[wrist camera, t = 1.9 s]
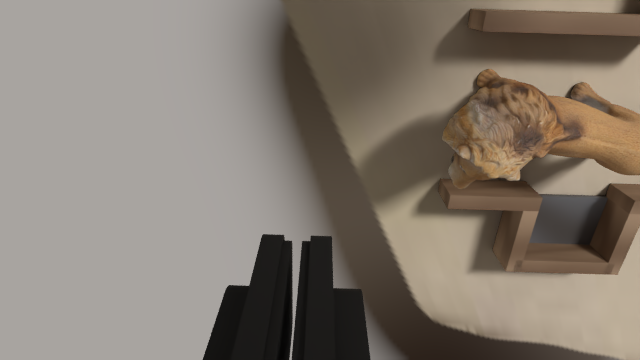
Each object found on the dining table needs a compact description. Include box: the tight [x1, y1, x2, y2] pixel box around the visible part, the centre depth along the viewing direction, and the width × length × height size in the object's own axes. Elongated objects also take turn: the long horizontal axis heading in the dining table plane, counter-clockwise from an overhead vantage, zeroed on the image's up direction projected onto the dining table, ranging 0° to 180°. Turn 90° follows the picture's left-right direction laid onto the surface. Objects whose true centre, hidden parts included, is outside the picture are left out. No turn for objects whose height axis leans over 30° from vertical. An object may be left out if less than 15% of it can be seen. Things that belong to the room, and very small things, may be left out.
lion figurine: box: [442, 69, 640, 189], centre depth 22 cm, size 15×5×9 cm, turn 88°
